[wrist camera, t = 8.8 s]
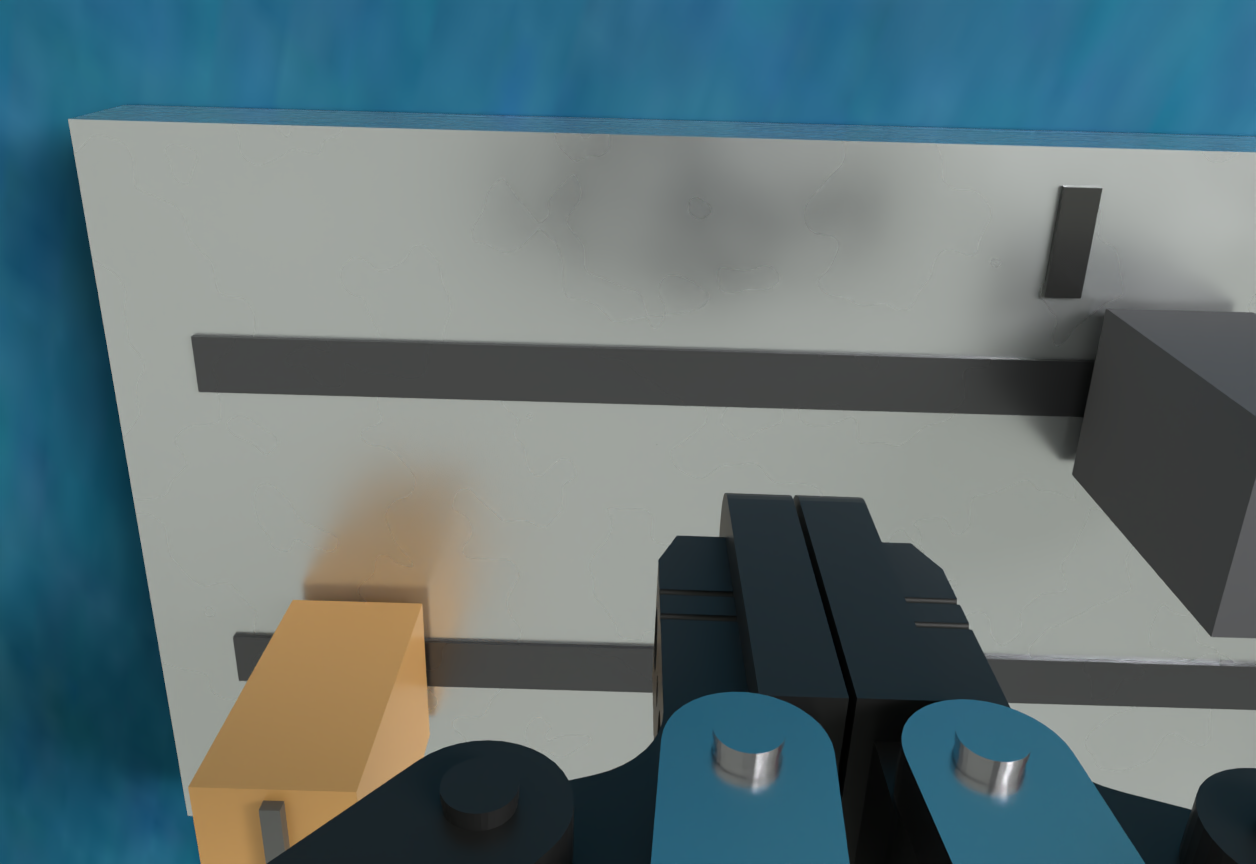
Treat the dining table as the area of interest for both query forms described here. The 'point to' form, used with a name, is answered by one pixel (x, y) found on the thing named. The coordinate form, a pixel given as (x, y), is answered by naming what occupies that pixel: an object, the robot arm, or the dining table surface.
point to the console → (646, 394)
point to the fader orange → (313, 728)
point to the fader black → (1179, 453)
